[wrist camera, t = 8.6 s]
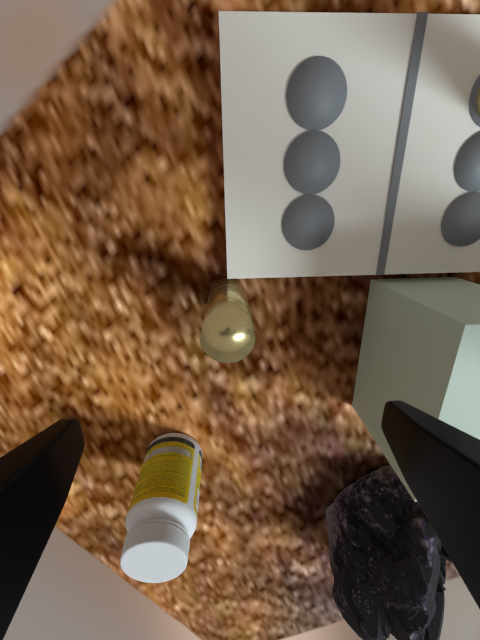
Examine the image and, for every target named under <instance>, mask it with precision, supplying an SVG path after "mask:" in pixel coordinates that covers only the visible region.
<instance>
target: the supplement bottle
mask: <svg viewBox="0 0 480 640" xmlns="http://www.w3.org/2000/svg"><path fill="white" fill-rule="evenodd" d="M201 467H202V450H201V447H200V446H199V444H198V443H197V442H196V441H195V440H194V439H192V438H191V437H189V436H187V435H185V434H181V433H167V434H164V435H161V436H159V437H157V438H156V439H155V440H153V441H152V442H151V444H150V445H149V447H148V449H147V452H146V455H145V458H144V461H143V465H142V468H141V471H140V475H139V478H138V481H137V484H136V487H135V491H134V494H133V497H132V500H131V503H130V507H129V509H128V513H127V517H126V529H127V532H128V533H127V536H126V538H125V541H124V546H123V550H122V554H121V559H120V565H121V568H122V570H123V571H124V572H125V573H126V574H127V575H128V576H129V577H131V578H133V579H135V580H138V581H142V582H148V583H159V582H165V581H168V580H171V579H174V578H176V577H177V576H179V575H180V574H181V573H182V572H183V571H184V570H185V568H186V565H187V560H188V552H189V546H190V538H191V536H192V535H193V533H194V531H195V528H196V524H197V515H198V503H199V491H200V479H201Z"/></svg>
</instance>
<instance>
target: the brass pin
mask: <svg viewBox="0 0 480 640" xmlns="http://www.w3.org/2000/svg"><path fill="white" fill-rule="evenodd" d="M200 341H201V345H202V348H203V350H204V351H205V353H206V354H207V355H208V356H209V357H211V358H212V359H214V360H216V361H219V362H223V363H232V362H237V361H239V360H241V359H243V358H245V357H246V356H247V355H248V354H249V353H250V352H251V350H252V349H253V347H254V344H255V332H254V327H253V323H252V318H251V313H250V309H249V304H248V299H247V294H246V290H245V288H244V286H243V285H242V284H241V283H240V282H239V281H238V280H236V279H227V278H223V279H220V280H218V281H216V282H215V283H214V284H213V285H212V287H211V289H210V292H209V297H208V302H207V306H206V311H205V316H204V321H203V325H202V330H201V335H200Z"/></svg>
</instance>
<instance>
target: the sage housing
mask: <svg viewBox="0 0 480 640" xmlns="http://www.w3.org/2000/svg"><path fill="white" fill-rule="evenodd" d="M395 400H400V401H403V402H405V403H407V404H409V405H411V406H413V407H415V408H417V409H419V410H421V411H423V412H425V413H427V414H429V415H431V416H433V417H435V418H437V419H439V420H441V421H443V422H445V423H447V424H449V425H451V426H453V427H455V428H457V429H459V430H461V431H463V432H465V433H467V434H469V435H471V436H473V437H475V438H477V439H479V440H480V284H476V283H473V282H470V281H466V280H463V279H460V278H456V277H426V278H394V279H371V282H370V289H369V295H368V302H367V309H366V315H365V322H364V329H363V335H362V342H361V349H360V356H359V362H358V369H357V376H356V382H355V389H354V396H353V403H352V406H353V408H354V409H355V411H356V412H357V414H358V416H359V417H360V419H361V420H362V422H363V423H364V425H365V426H366V428H367V429H368V431H369V432H370V434H371V436H372V437H373V439H374V440H375V442H376V443H377V445H378V446H379V448H380V449H381V451H382V452H383V454H384V456H385V457H386V459H387V460H388V462H389V463H390V465H391V466H392V468H393V469H394V471H395V472H396V474H397V476H398V477H399V479H400V480H401V482H402V483H403V485H404V486H405V488H406V489H407V491H408V492H409V494H410V496H411V497H412V499H413V500H414V502H417V500H416V498H415V497H414V495H413V493H412V491H411V490H410V488H409V486H408V484H407V482H406V481H405V479H404V477H403V475H402V473H401V470H400V468H399V466H398V464H397V462H396V460H395V457H394V455H393V453H392V451H391V449H390V446H389V444H388V442H387V440H386V438H385V436H384V433H383V431H382V428H381V421H382V416H383V411H384V406H385V403H386V402H387V401H395Z"/></svg>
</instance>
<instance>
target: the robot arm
mask: <svg viewBox="0 0 480 640" xmlns="http://www.w3.org/2000/svg"><path fill="white" fill-rule="evenodd" d="M381 428H382V431H383V433H384V436H385V438H386V440H387V442H388V444H389V446H390V449H391V451H392V453H393V455H394V457H395V460H396V462H397V464H398V466H399V468H400V470H401V473H402V475H403V477H404V479H405V481H406V482H407V484H408V486H409V488H410V490H411V491H412V493H413V495H414V497H415V498H416V500H417V502H418V503H419V505H420V507H421V509H422V510H423V512H424V514H425V516H426V517H427V519H428V521H429V522H430V524H431V526H432V528H433V529H434V531H435V533H436V534H437V536H438V538H439V540H440V541H441V543H442V545H443V547H444V548H445V550H446V552H447V553H448V555H449V557H450V559H451V560H452V562H453V564H454V566H455V567H456V569H457V571H458V572H459V574H460V576H461V578H462V579H463V581H464V583H465V584H466V586H467V588H468V590H469V591H470V593H471V595H472V596H473V598H474V600H475V602H476V603H477V605H478V607H479V608H480V440H479V439H477V438H475V437H473V436H471V435H469V434H467V433H465V432H463V431H461V430H459V429H457V428H455V427H453V426H451V425H449V424H447V423H445V422H443V421H441V420H439V419H437V418H435V417H433V416H431V415H429V414H427V413H425V412H423V411H421V410H419V409H417V408H415V407H413V406H411V405H409V404H407V403H405V402H403V401H400V400H395V401H387V402H386V403H385V406H384V411H383V416H382V421H381ZM84 445H85V442H84V437H83V433H82V430H81V426H80V423H79V420H78V419H76V418H67V419H61V420H59V421H57V422H56V423H54V424H53V425H51V426H49V427H48V428H46V429H45V430H43V431H42V432H40V433H38V434H37V435H35V436H34V437H32V438H30V439H29V440H27V441H26V442H24V443H23V444H21V445H19V446H18V447H16V448H15V449H13V450H12V451H10V452H8V453H7V454H5V455H4V456H2V457H1V458H0V640H3V638H4V636H5V634H6V631H7V629H8V627H9V625H10V623H11V621H12V618H13V616H14V614H15V612H16V610H17V607H18V605H19V603H20V601H21V599H22V597H23V594H24V592H25V590H26V588H27V586H28V583H29V581H30V579H31V577H32V574H33V572H34V570H35V568H36V566H37V564H38V561H39V559H40V557H41V555H42V553H43V551H44V548H45V546H46V544H47V542H48V540H49V537H50V535H51V533H52V531H53V529H54V527H55V524H56V522H57V520H58V518H59V516H60V513H61V511H62V509H63V507H64V504H65V502H66V499H67V496H68V493H69V491H70V488H71V485H72V482H73V479H74V476H75V473H76V470H77V467H78V464H79V462H80V459H81V456H82V453H83V450H84Z"/></svg>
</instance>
